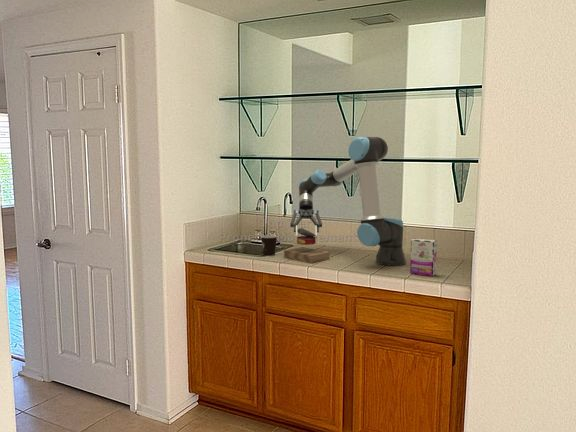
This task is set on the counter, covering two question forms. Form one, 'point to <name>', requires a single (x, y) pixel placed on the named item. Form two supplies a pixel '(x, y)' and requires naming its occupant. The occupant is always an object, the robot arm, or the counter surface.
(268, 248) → the coffee mug
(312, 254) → the block
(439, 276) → the counter surface
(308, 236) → the canned food
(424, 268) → the candy bar box
